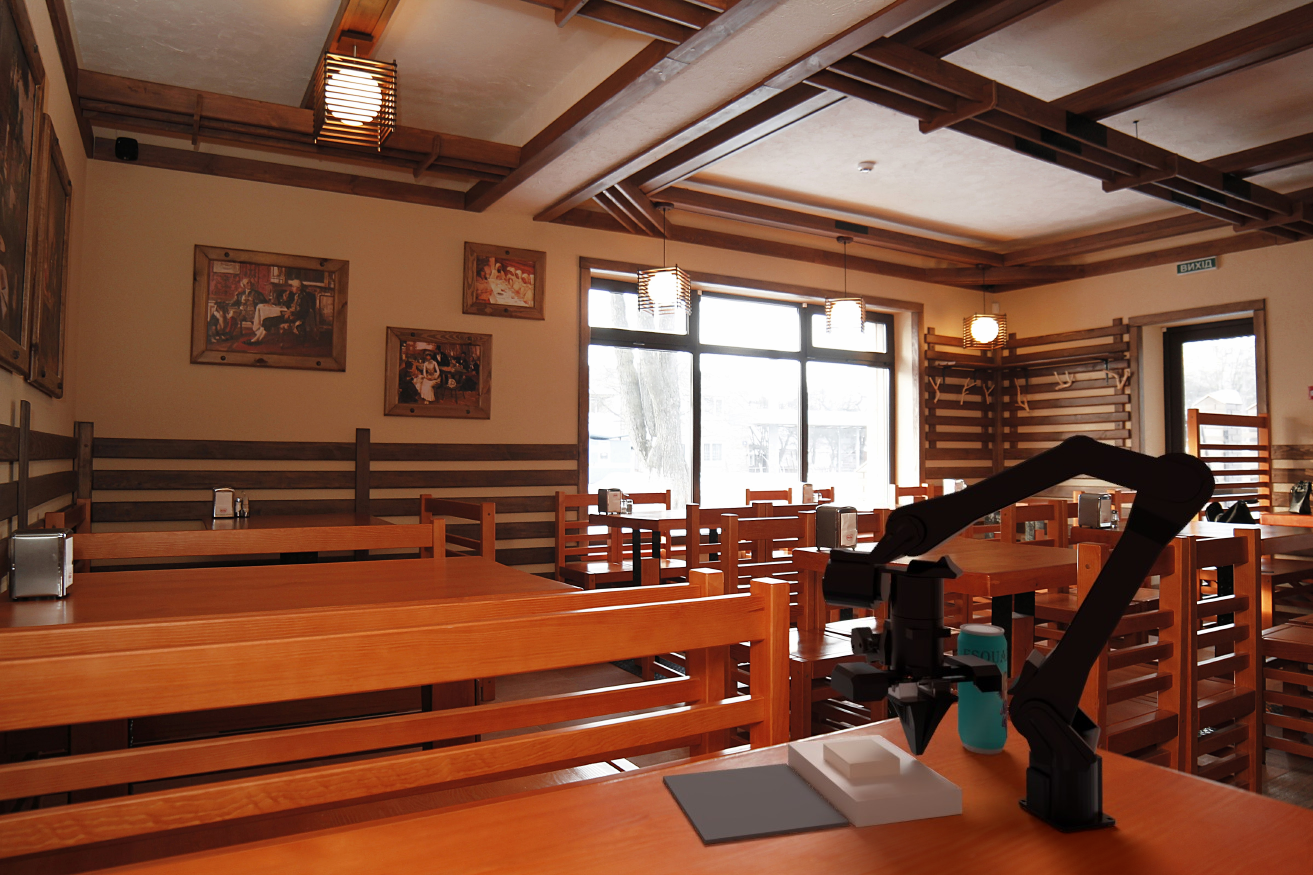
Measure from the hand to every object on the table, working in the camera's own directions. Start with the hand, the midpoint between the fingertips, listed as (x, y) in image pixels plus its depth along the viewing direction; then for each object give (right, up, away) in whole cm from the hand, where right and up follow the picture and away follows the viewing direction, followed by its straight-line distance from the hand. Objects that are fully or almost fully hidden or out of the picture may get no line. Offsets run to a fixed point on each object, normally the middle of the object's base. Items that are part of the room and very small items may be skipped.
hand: (916, 753), depth 87 cm
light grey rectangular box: (-6, -3, -2) cm, 7 cm away
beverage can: (+12, -4, +10) cm, 16 cm away
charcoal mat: (-19, -3, -5) cm, 20 cm away
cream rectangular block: (-7, -1, -2) cm, 7 cm away
